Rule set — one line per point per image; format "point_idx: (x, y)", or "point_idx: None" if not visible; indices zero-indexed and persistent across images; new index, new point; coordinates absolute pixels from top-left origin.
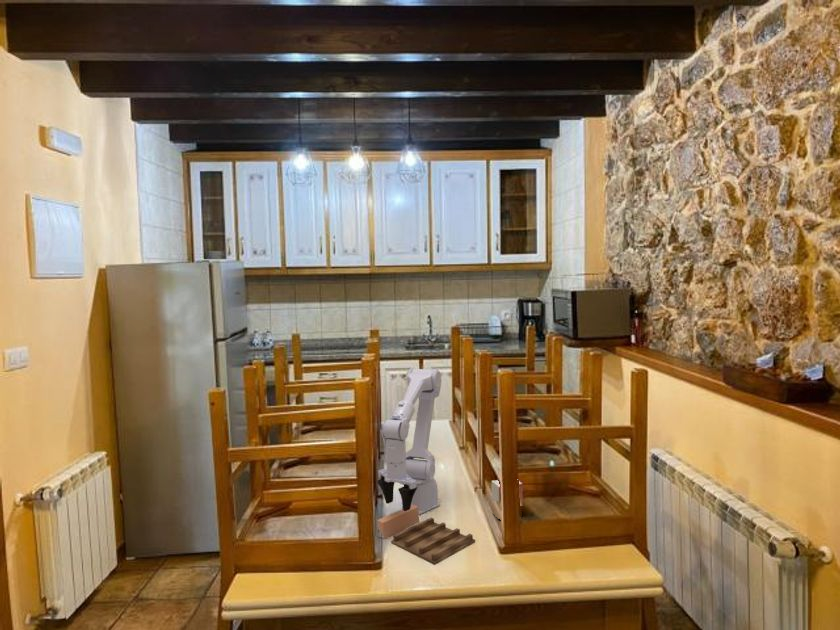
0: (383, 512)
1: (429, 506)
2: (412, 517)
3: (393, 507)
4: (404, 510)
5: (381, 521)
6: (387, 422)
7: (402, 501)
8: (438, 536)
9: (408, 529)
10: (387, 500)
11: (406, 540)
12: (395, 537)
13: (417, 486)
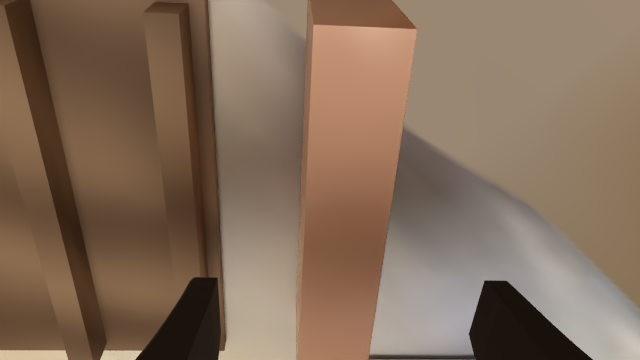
0: (590, 266)
1: None
2: (298, 304)
3: (568, 336)
4: (197, 281)
5: (352, 38)
6: None
7: (179, 358)
8: (13, 256)
9: (176, 175)
10: (498, 309)
11: (5, 25)
12: (148, 10)
13: None
